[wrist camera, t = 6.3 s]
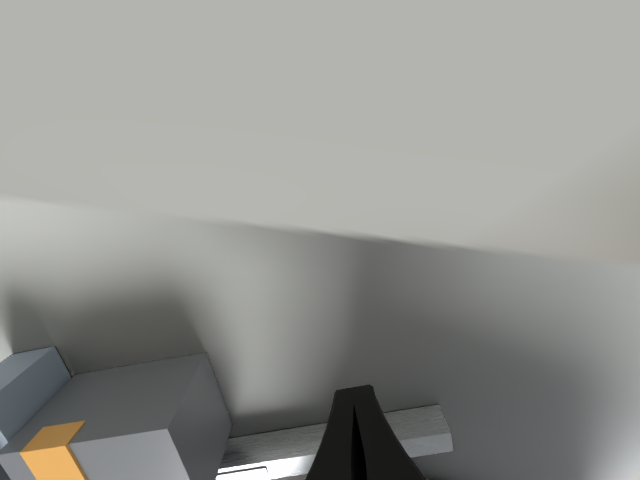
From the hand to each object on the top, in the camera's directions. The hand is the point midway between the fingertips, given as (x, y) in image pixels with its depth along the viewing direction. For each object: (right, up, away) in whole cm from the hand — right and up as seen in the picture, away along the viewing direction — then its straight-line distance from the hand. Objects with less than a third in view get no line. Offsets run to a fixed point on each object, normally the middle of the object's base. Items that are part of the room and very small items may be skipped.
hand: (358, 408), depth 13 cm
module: (-9, -1, +3) cm, 9 cm away
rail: (-5, -3, +3) cm, 7 cm away
